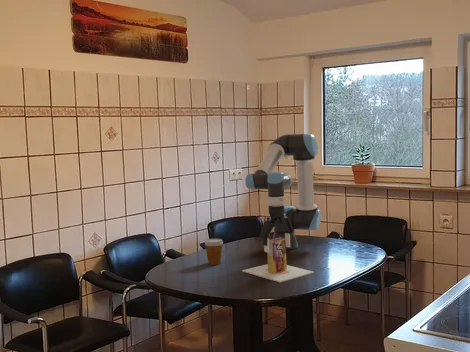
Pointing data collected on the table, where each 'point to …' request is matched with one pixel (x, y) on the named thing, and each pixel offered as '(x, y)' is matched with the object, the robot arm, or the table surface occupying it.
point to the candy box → (277, 255)
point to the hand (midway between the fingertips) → (277, 249)
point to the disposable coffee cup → (214, 251)
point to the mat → (278, 273)
